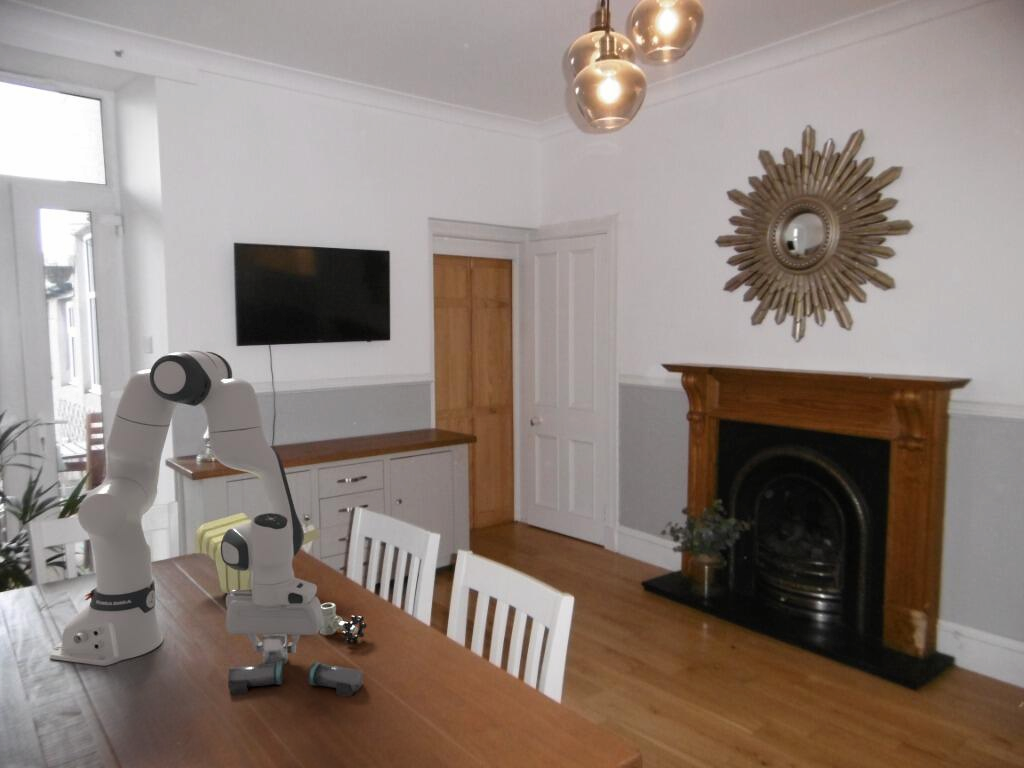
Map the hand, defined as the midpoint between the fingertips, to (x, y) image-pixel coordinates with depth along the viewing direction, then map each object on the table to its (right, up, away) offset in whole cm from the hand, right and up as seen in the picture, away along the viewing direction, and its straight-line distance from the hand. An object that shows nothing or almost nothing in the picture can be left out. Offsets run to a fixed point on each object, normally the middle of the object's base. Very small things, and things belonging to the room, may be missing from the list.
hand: (275, 651), depth 156 cm
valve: (+11, -1, +12) cm, 16 cm away
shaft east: (+16, -3, -11) cm, 19 cm away
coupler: (0, -2, 0) cm, 2 cm away
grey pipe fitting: (-1, -3, -10) cm, 11 cm away
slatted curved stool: (-18, +2, +40) cm, 43 cm away
